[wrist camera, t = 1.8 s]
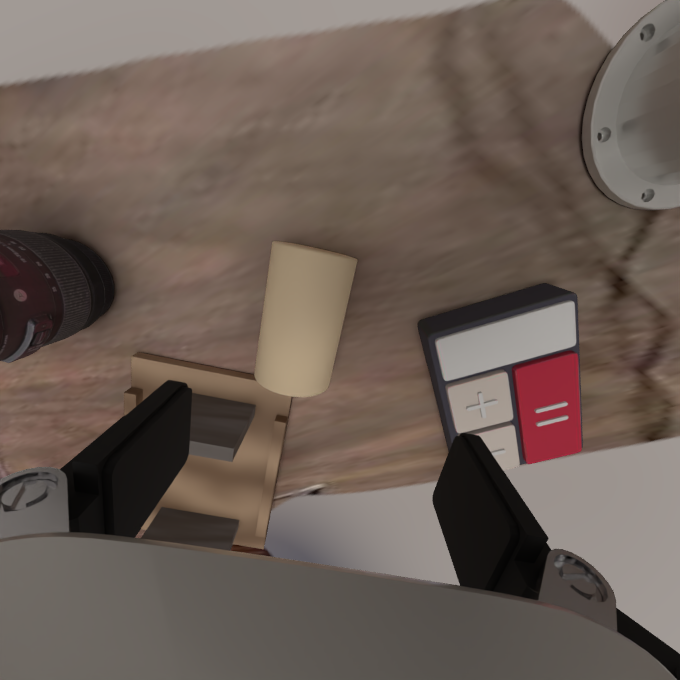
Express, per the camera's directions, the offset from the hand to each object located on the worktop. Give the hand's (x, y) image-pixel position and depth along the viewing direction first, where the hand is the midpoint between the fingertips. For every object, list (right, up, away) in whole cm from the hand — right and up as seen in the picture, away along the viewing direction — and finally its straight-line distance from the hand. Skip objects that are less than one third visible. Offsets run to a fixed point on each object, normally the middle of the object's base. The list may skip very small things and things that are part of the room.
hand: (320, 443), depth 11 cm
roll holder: (-12, -8, +20) cm, 25 cm away
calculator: (+15, 0, +18) cm, 23 cm away
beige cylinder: (-2, +5, +13) cm, 14 cm away
